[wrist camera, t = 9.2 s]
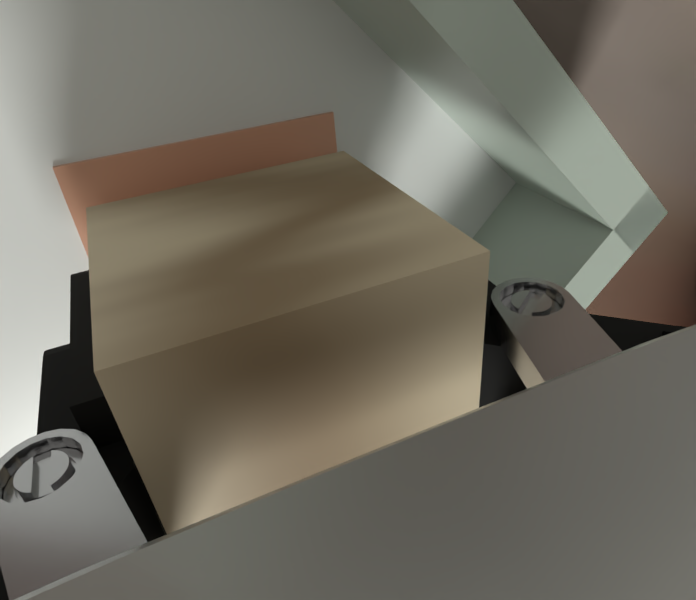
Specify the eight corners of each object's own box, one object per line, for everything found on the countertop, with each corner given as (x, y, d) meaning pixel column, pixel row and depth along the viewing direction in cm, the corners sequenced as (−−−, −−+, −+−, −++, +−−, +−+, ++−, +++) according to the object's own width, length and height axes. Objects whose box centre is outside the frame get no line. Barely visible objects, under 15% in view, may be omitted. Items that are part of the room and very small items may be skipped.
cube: (343, 150, 11) (490, 250, 7) (360, 343, 14) (472, 490, 10) (85, 207, 10) (93, 371, 6) (162, 409, 12) (202, 613, 8)
